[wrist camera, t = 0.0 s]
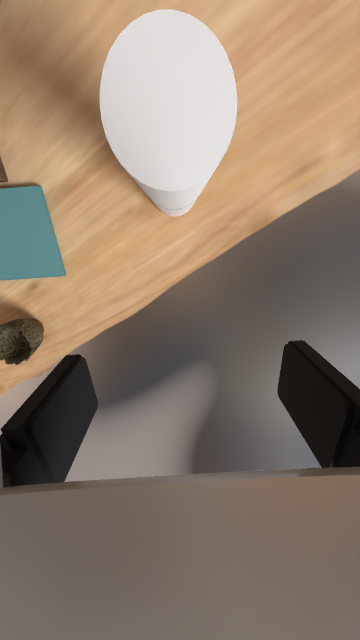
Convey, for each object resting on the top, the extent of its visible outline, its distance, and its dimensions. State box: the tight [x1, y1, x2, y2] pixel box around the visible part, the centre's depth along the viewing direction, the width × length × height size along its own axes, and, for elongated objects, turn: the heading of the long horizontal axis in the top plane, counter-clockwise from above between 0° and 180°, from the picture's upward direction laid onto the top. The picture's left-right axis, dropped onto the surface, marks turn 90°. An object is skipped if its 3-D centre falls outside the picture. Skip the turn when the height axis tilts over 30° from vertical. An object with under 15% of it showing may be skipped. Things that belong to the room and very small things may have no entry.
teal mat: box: [0, 186, 66, 280], centre depth 36 cm, size 14×14×1 cm
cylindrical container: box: [100, 10, 237, 216], centre depth 22 cm, size 7×7×25 cm
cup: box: [0, 319, 44, 365], centre depth 39 cm, size 8×7×8 cm
